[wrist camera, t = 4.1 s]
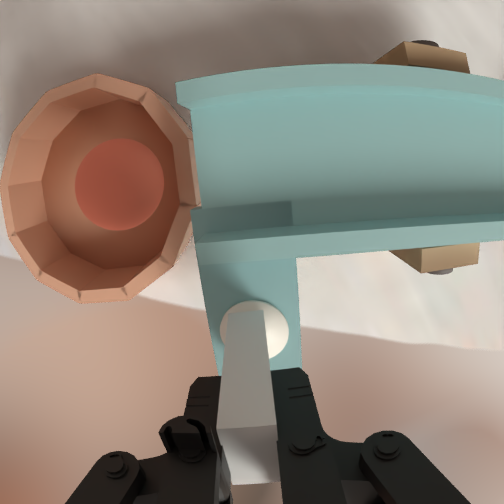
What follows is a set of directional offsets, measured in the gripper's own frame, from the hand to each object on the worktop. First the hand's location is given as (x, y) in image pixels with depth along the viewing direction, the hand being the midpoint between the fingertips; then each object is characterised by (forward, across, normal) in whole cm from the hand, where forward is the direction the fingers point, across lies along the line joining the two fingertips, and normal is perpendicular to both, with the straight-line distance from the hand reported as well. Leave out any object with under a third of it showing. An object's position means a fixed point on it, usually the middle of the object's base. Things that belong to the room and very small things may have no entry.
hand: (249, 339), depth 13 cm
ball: (0, -6, +7) cm, 9 cm away
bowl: (+8, -8, +7) cm, 14 cm away
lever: (+1, +9, +3) cm, 9 cm away
